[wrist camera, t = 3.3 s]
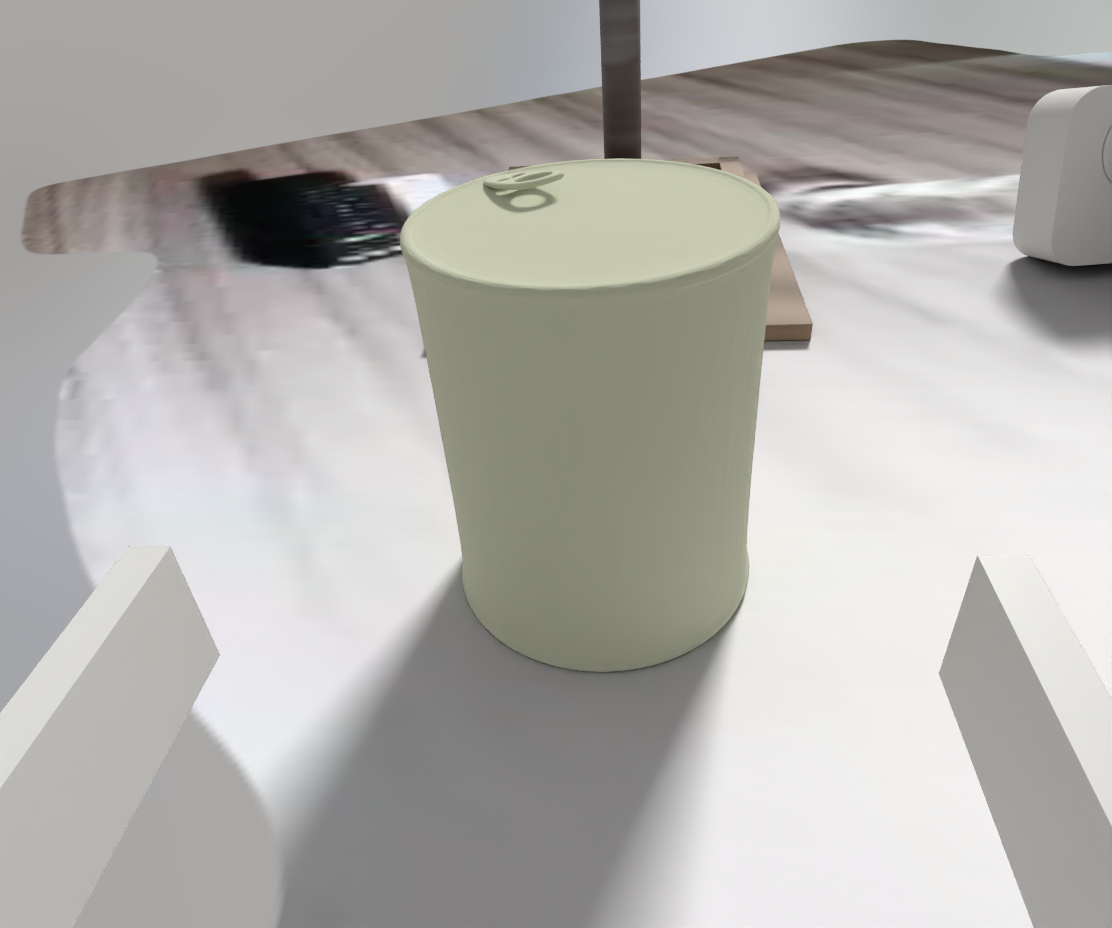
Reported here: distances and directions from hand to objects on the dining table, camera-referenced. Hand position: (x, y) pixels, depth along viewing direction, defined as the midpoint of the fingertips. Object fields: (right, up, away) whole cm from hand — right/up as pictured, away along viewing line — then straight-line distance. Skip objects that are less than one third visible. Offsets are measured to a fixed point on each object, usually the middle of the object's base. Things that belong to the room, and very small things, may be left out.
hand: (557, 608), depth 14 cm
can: (+2, -1, +13) cm, 13 cm away
